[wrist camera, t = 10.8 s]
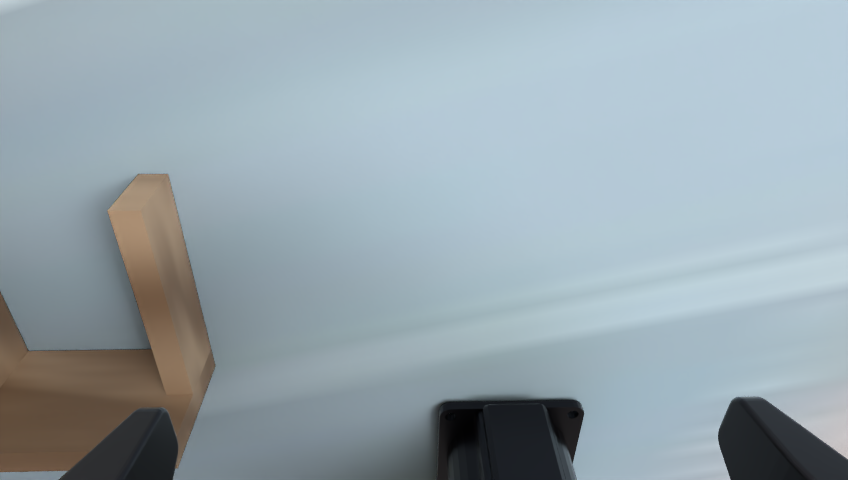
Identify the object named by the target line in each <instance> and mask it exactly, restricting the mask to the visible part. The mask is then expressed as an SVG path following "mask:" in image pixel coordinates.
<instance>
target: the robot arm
mask: <svg viewBox="0 0 848 480" xmlns="http://www.w3.org/2000/svg"><path fill="white" fill-rule="evenodd" d="M449 413H452V414H449ZM583 416H584V411H583V408H582V405H581V403H580V402H578V401H575V400H551V401H495V402H449V403H445V404H443V405H442V406H441V407H440V409H439V427H438V453H437V479H436V480H577V478H576V475H575V471H574V468H573V459H574V455H575V451H576V446H577V442H578V438H579V434H580V429H581V425H582V421H583ZM718 440H719V445H720V449H721V452H722V455H723V458H724V461H725V464H726V467H727V470H728V473H729V476H730V479H731V480H848V459H846V458H845V457H844V456H842V455H841V454H840V453H838V452H837V451H835V450H834V449H833V448H831V447H830V446H829V445H827V444H826V443H824V442H823V441H822V440H820V439H819V438H818V437H816V436H815V435H813V434H812V433H811V432H809V431H808V430H807V429H805V428H804V427H802V426H801V425H800V424H798V423H797V422H796V421H794V420H793V419H791V418H790V417H789V416H787V415H786V414H784V413H783V412H782V411H780V410H779V409H778V408H776V407H775V406H773V405H772V404H771V403H769V402H768V401H766V400H765V399H763V398H761V397H736V398H734V399H733V400H732V401H731V403H730V405H729V407H728V409H727V412H726V414H725V416H724V419H723V421H722V424H721V426H720V428H719V433H718ZM177 457H178V440H177V437H176V433H175V430H174V427H173V424H172V421H171V418H170V415H169V413H168V411H167V410H166V409H165V408H163V407H144V408H139V409H137V410H135V411H134V412H133V413H131V414H130V415H129V416H128V417H127V418H126V419H125V420H124V421H123V422H122V423H120V424H119V425H118V426H117V427H116V428H115V429H114V430H113V431H112V432H111V433H109V434H108V435H107V436H106V437H105V438H104V439H103V440H102V441H101V442H100V443H98V444H97V445H96V446H95V447H94V448H93V449H92V450H91V451H90V452H89V453H87V454H86V455H85V456H84V457H83V458H82V459H81V460H80V461H79V462H78V463H76V464H75V465H74V466H73V467H72V468H71V469H70V470H69V471H68V472H67V473H65V474H64V475H63V476H62V477H61V478H60V479H59V480H173V475H174V471H175V466H176V462H177Z"/></svg>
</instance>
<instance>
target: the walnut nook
mask: <svg viewBox="0 0 848 480" xmlns="http://www.w3.org/2000/svg"><path fill="white" fill-rule="evenodd" d="M108 214H109V217H110V221H111V224H112V227H113V230H114V233H115V236H116V239H117V242H118V246H119V249H120V252H121V255H122V258H123V261H124V264H125V267H126V270H127V274H128V277H129V280H130V283H131V286H132V289H133V292H134V295H135V299H136V302H137V305H138V308H139V311H140V314H141V317H142V320H143V324H144V327H145V330H146V333H147V336H148V339H149V342H150V345H151V349H139V350H70V351H28V349H27V347H26V345H25V343H24V341H23V339H22V337H21V335H20V333H19V330H18V328H17V326H16V324H15V322H14V320H13V318H12V316H11V314H10V311H9V309H8V307H7V305H6V303H5V301H4V299H3V297H2V295H1V292H0V472H28V471H69V470H70V469H71V468H72V467H73V466H74V465H75V464H76V463H78V462H79V461H80V460H81V459H82V458H83V457H84V456H85V455H86V454H87V453H89V452H90V451H91V450H92V449H93V448H94V447H95V446H96V445H97V444H98V443H100V442H101V441H102V440H103V439H104V438H105V437H106V436H107V435H108V434H109V433H111V432H112V431H113V430H114V429H115V428H116V427H117V426H118V425H119V424H120V423H122V422H123V421H124V420H125V419H126V418H127V417H128V416H129V415H130V414H131V413H133V412H134V411H135V410H137V409H139V408H144V407H163V408H165V409H166V410H167V411H168V413H169V415H170V418H171V421H172V424H173V427H174V430H175V433H176V437H177V440H178V457H177V462H176V466H175V468H178V466H179V463H180V461H181V458H182V455H183V453H184V450H185V447H186V444H187V442H188V439H189V436H190V434H191V431H192V428H193V425H194V423H195V420H196V417H197V415H198V412H199V409H200V406H201V404H202V401H203V398H204V396H205V393H206V390H207V387H208V385H209V382H210V379H211V377H212V374H213V371H214V368H215V362H214V358H213V354H212V350H211V346H210V342H209V338H208V334H207V330H206V326H205V322H204V318H203V314H202V310H201V306H200V302H199V298H198V294H197V289H196V285H195V281H194V277H193V273H192V269H191V265H190V261H189V257H188V253H187V249H186V245H185V241H184V237H183V233H182V229H181V225H180V221H179V216H178V212H177V208H176V204H175V200H174V196H173V192H172V188H171V184H170V180H169V176H168V174H138V175H137V176H136V177H135V179H134V180H133V181H132V182H131V183H130V185H129V186H128V187H127V188H126V189H125V191H124V192H123V193H122V194H121V195H120V196H119V198H118V199H117V200H116V201H115V202H114V204H113V205H112V206H111V207H110V208H109V209H108Z"/></svg>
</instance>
